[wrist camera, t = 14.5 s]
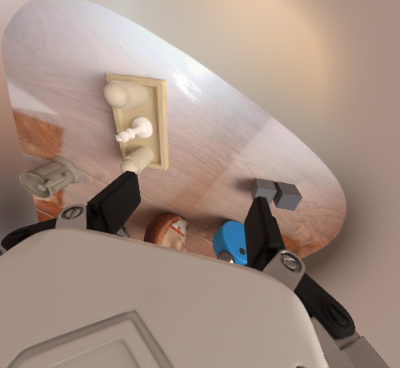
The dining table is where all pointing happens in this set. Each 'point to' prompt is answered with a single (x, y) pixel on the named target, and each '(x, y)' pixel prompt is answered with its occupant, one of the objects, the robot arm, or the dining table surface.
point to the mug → (51, 177)
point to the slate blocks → (277, 193)
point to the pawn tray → (140, 107)
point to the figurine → (167, 232)
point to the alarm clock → (231, 243)
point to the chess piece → (136, 130)
